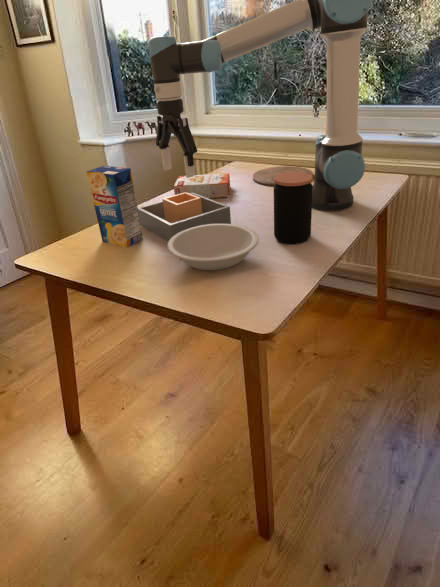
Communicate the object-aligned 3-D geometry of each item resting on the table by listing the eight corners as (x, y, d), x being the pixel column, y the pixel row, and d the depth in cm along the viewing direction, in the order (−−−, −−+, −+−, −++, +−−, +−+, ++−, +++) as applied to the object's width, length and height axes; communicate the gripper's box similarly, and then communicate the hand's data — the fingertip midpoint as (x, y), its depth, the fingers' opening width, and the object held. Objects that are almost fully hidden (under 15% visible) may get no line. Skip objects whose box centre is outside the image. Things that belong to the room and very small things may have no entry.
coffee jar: (317, 235, 127) (320, 174, 118) (297, 248, 121) (298, 185, 111) (287, 228, 134) (288, 170, 125) (266, 240, 127) (265, 179, 118)
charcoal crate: (231, 224, 140) (229, 206, 137) (172, 244, 130) (170, 225, 126) (194, 208, 156) (192, 192, 153) (139, 225, 145) (136, 208, 142)
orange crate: (203, 221, 141) (200, 197, 137) (179, 229, 137) (176, 204, 133) (188, 215, 148) (185, 192, 144) (165, 222, 143) (162, 198, 139)
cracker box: (228, 181, 161) (173, 185, 162) (229, 197, 164) (175, 201, 165) (229, 171, 173) (177, 175, 175) (230, 186, 176) (179, 190, 178)
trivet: (244, 176, 189) (244, 171, 188) (296, 167, 195) (296, 163, 194) (267, 191, 169) (267, 186, 168) (324, 181, 174) (324, 176, 173)
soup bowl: (179, 245, 129) (176, 224, 125) (260, 243, 126) (259, 222, 122) (162, 284, 108) (158, 261, 105) (258, 283, 105) (257, 259, 102)
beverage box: (128, 247, 130) (113, 174, 119) (102, 241, 135) (86, 171, 124) (143, 239, 135) (130, 168, 123) (117, 233, 140) (103, 165, 129)
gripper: (137, 98, 131) (149, 169, 141) (180, 102, 113) (190, 183, 123) (159, 95, 134) (169, 164, 145) (204, 98, 116) (211, 177, 127)
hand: (178, 173), depth 134 cm, fingers open, 13 cm apart
